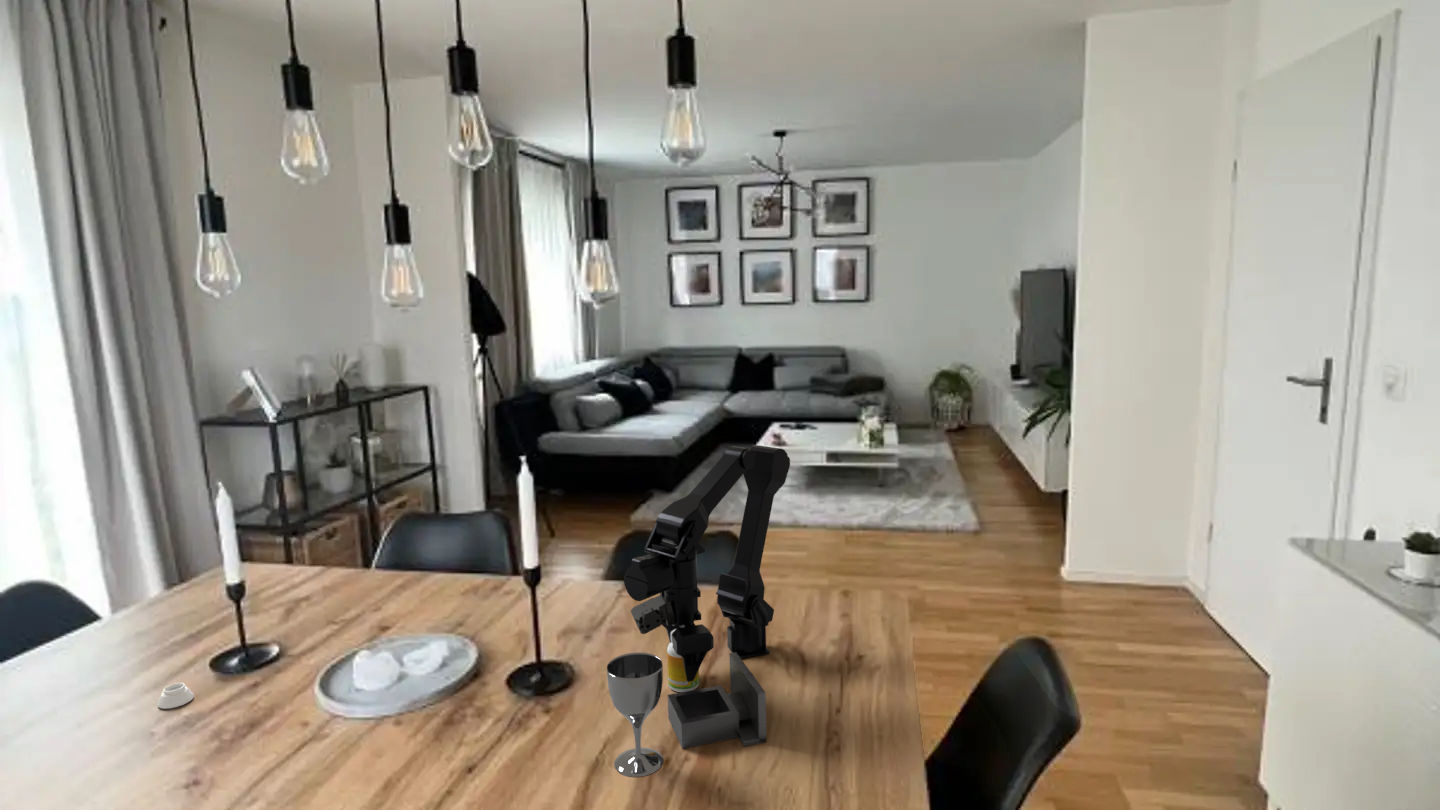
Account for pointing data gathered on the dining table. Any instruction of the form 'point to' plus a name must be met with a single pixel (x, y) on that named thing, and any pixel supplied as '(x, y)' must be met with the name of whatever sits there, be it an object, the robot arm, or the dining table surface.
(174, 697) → the white upside-down bowl
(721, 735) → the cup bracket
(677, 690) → the supplement bottle
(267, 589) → the dining table surface
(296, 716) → the dining table surface
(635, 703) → the wine glass
